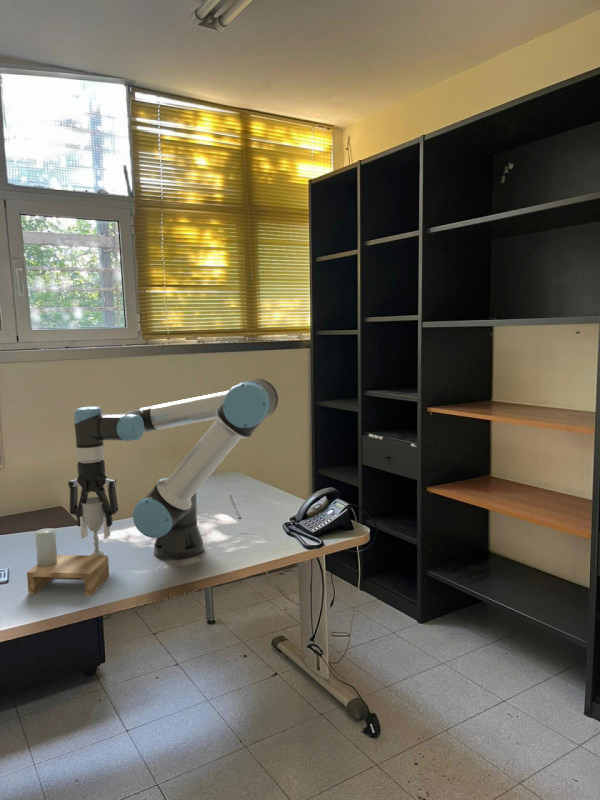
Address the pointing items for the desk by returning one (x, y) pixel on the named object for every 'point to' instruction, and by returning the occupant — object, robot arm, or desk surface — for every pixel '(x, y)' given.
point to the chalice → (94, 520)
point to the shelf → (71, 572)
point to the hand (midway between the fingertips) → (95, 536)
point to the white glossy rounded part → (46, 547)
